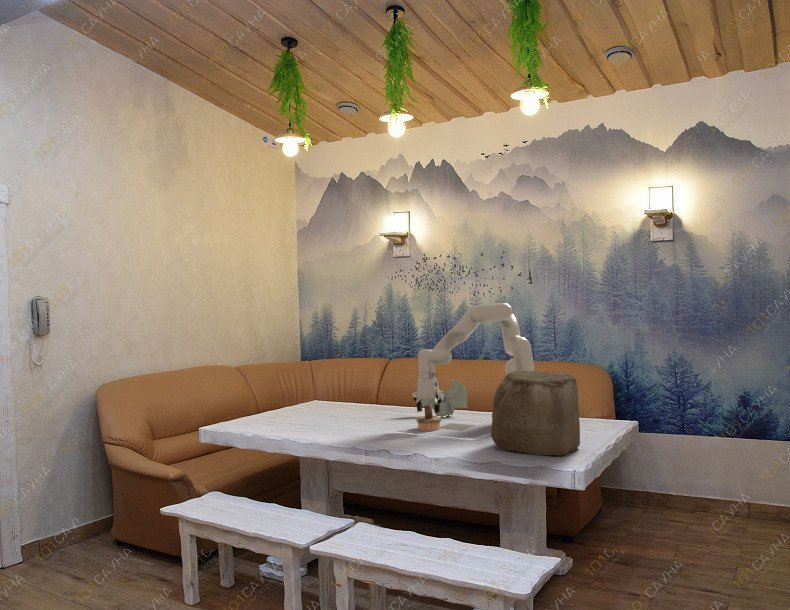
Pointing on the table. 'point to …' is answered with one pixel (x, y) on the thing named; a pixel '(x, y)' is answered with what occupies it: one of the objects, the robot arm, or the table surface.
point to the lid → (428, 416)
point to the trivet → (456, 426)
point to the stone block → (536, 413)
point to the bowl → (429, 426)
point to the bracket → (450, 399)
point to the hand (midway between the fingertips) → (428, 412)
